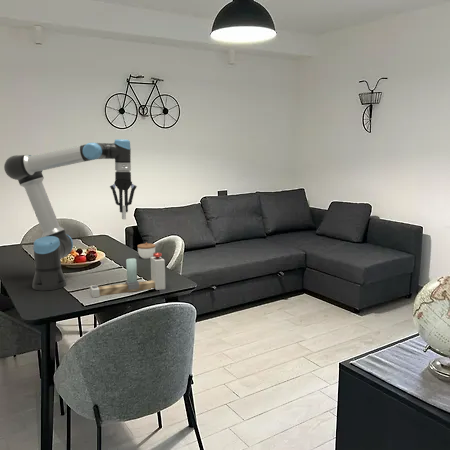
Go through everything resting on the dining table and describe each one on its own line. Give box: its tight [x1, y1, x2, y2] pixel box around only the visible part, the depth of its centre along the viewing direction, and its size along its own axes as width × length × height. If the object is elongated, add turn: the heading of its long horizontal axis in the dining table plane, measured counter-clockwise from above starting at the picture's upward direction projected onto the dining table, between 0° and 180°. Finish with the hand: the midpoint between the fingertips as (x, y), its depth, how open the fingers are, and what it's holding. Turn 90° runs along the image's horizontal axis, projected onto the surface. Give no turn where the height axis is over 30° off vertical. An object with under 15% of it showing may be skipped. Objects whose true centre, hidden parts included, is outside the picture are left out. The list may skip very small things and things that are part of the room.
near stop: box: [89, 284, 100, 299], centre depth 208 cm, size 3×7×4 cm, turn 24°
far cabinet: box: [150, 256, 166, 291], centre depth 219 cm, size 4×9×14 cm, turn 24°
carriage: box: [124, 257, 140, 290], centre depth 214 cm, size 5×6×13 cm
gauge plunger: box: [152, 252, 163, 260], centre depth 219 cm, size 4×4×11 cm
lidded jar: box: [137, 241, 156, 260], centre depth 279 cm, size 11×11×9 cm
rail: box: [98, 279, 155, 296], centre depth 214 cm, size 26×4×3 cm, turn 114°
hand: (123, 218), depth 229 cm, fingers closed
